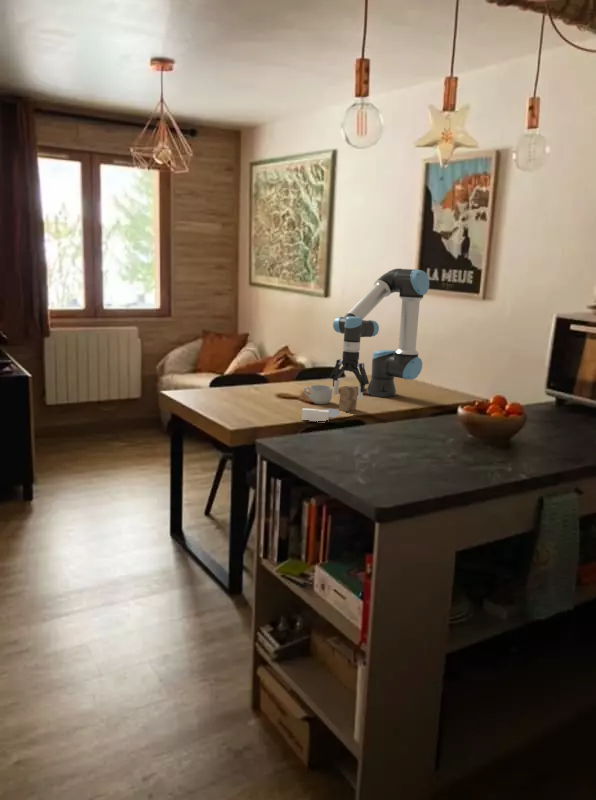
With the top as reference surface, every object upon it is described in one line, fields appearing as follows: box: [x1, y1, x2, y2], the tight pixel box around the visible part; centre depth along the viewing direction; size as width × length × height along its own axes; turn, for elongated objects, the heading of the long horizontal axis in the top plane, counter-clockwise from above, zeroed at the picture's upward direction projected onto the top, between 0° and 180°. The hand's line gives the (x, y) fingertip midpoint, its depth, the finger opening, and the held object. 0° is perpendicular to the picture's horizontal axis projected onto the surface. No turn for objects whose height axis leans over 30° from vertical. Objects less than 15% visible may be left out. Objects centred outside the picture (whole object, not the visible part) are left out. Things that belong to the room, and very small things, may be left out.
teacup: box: [303, 384, 334, 405], centre depth 326 cm, size 14×11×8 cm
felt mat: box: [323, 407, 340, 418], centre depth 305 cm, size 14×16×1 cm
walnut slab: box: [338, 384, 359, 412], centre depth 313 cm, size 9×4×11 cm, turn 141°
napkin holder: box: [301, 407, 329, 423], centre depth 291 cm, size 15×11×6 cm
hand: (347, 396), depth 312 cm, fingers open, 13 cm apart
